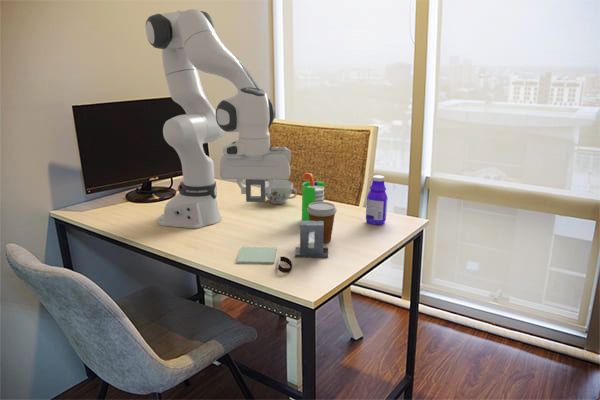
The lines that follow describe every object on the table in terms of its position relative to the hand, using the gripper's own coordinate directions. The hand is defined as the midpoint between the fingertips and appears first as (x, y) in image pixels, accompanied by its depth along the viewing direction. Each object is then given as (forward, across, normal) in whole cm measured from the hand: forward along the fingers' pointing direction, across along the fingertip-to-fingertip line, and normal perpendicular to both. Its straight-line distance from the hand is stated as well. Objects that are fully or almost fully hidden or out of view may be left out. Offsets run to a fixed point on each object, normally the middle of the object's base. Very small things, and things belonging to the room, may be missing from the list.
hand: (255, 193), depth 140 cm
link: (+2, 0, 0) cm, 2 cm away
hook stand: (+20, -16, +2) cm, 26 cm away
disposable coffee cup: (+20, -19, -14) cm, 31 cm away
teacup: (+20, -3, -54) cm, 58 cm away
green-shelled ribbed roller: (+20, -16, -32) cm, 41 cm away
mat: (+20, 0, 0) cm, 20 cm away
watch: (+20, -9, +8) cm, 24 cm away
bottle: (+20, -39, -32) cm, 54 cm away
